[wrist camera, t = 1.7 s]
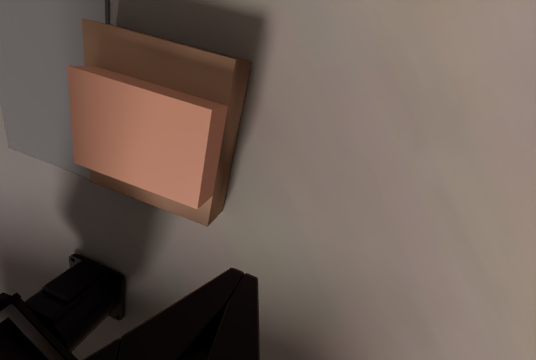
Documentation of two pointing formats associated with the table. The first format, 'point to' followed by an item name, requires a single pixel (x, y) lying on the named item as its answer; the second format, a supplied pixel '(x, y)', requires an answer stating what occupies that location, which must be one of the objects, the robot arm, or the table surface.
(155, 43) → the plate
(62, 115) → the mat
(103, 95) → the block
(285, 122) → the table surface
